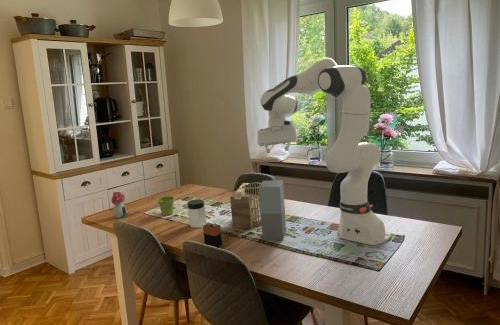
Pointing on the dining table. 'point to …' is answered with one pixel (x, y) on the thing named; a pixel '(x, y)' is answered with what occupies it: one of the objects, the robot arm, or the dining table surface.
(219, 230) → the battery
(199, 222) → the jar
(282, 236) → the boxes
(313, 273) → the dining table surface
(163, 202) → the plant pot
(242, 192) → the bar
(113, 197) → the decorative ornament
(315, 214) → the dining table surface
